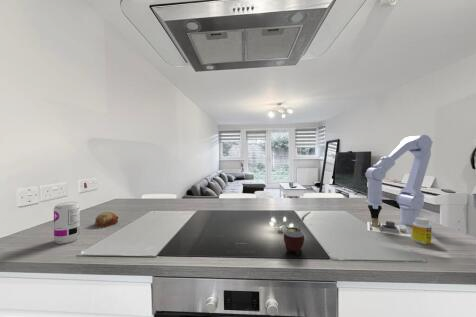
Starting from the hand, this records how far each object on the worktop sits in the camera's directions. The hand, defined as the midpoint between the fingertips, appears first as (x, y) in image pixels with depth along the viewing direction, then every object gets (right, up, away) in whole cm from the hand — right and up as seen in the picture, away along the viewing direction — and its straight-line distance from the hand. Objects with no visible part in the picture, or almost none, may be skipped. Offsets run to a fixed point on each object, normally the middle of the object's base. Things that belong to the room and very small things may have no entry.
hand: (374, 220), depth 101 cm
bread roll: (-133, -4, +5) cm, 133 cm away
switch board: (+1, -3, -6) cm, 7 cm away
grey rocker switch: (+6, 0, -10) cm, 12 cm away
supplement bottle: (+5, -4, -21) cm, 21 cm away
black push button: (+1, 0, -9) cm, 9 cm away
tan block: (-1, -2, -2) cm, 3 cm away
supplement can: (-136, -4, -15) cm, 136 cm away
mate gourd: (-45, -4, -26) cm, 53 cm away
